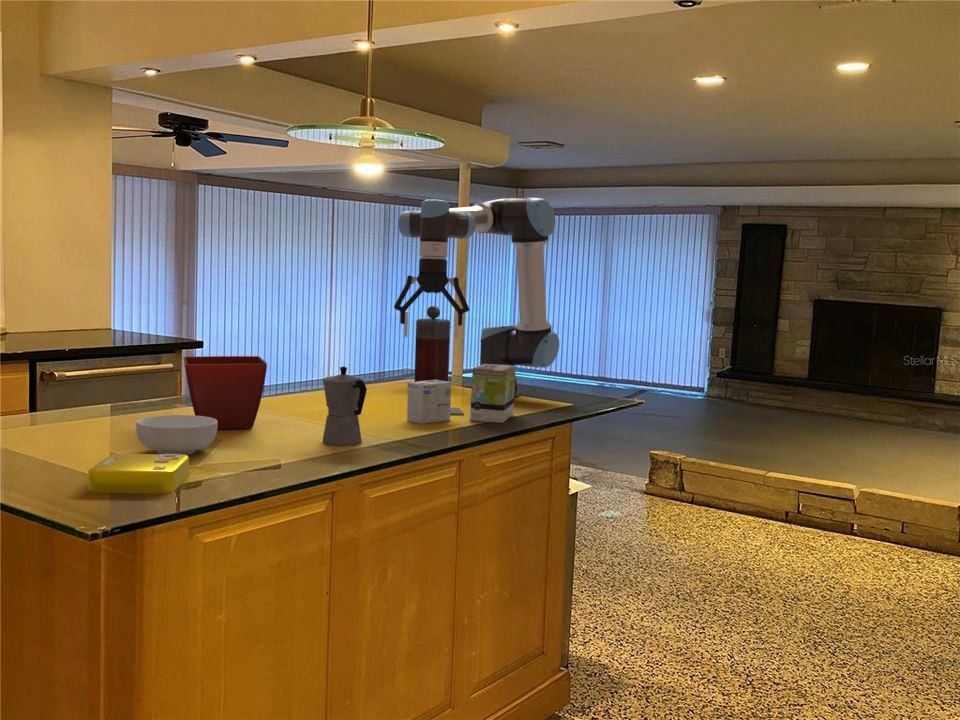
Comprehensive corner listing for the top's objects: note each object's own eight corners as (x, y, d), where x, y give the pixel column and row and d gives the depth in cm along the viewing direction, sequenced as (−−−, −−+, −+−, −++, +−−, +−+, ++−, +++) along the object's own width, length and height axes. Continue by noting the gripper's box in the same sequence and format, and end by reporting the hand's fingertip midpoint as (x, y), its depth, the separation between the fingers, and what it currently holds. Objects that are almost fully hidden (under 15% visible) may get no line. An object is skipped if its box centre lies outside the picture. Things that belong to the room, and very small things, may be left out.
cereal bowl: (217, 459, 185) (217, 426, 185) (132, 462, 181) (132, 428, 180) (217, 443, 201) (217, 413, 201) (139, 445, 197) (139, 414, 196)
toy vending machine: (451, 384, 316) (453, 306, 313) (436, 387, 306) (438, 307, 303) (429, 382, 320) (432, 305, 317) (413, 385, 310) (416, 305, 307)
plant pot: (183, 419, 229) (183, 355, 227) (258, 418, 236) (259, 355, 234) (185, 433, 211) (185, 364, 209) (267, 431, 218) (267, 363, 216)
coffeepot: (309, 439, 209) (310, 364, 207) (342, 435, 215) (344, 362, 214) (346, 451, 198) (348, 371, 196) (380, 446, 204) (382, 369, 202)
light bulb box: (435, 417, 247) (436, 378, 246) (451, 420, 242) (452, 381, 241) (405, 420, 240) (406, 381, 238) (421, 424, 235) (422, 384, 234)
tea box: (505, 423, 240) (507, 370, 239) (469, 421, 242) (470, 367, 241) (514, 415, 255) (516, 364, 253) (480, 412, 257) (481, 362, 255)
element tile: (112, 475, 171) (111, 450, 170) (191, 476, 172) (191, 451, 172) (84, 495, 156) (84, 468, 156) (171, 495, 158) (171, 469, 157)
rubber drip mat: (411, 408, 259) (411, 407, 259) (458, 409, 261) (458, 407, 261) (414, 414, 249) (414, 412, 249) (463, 415, 252) (463, 413, 251)
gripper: (387, 256, 230) (385, 336, 233) (481, 260, 235) (478, 339, 237) (385, 256, 238) (383, 334, 240) (476, 260, 242) (474, 337, 244)
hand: (430, 337), depth 238 cm, fingers open, 13 cm apart
